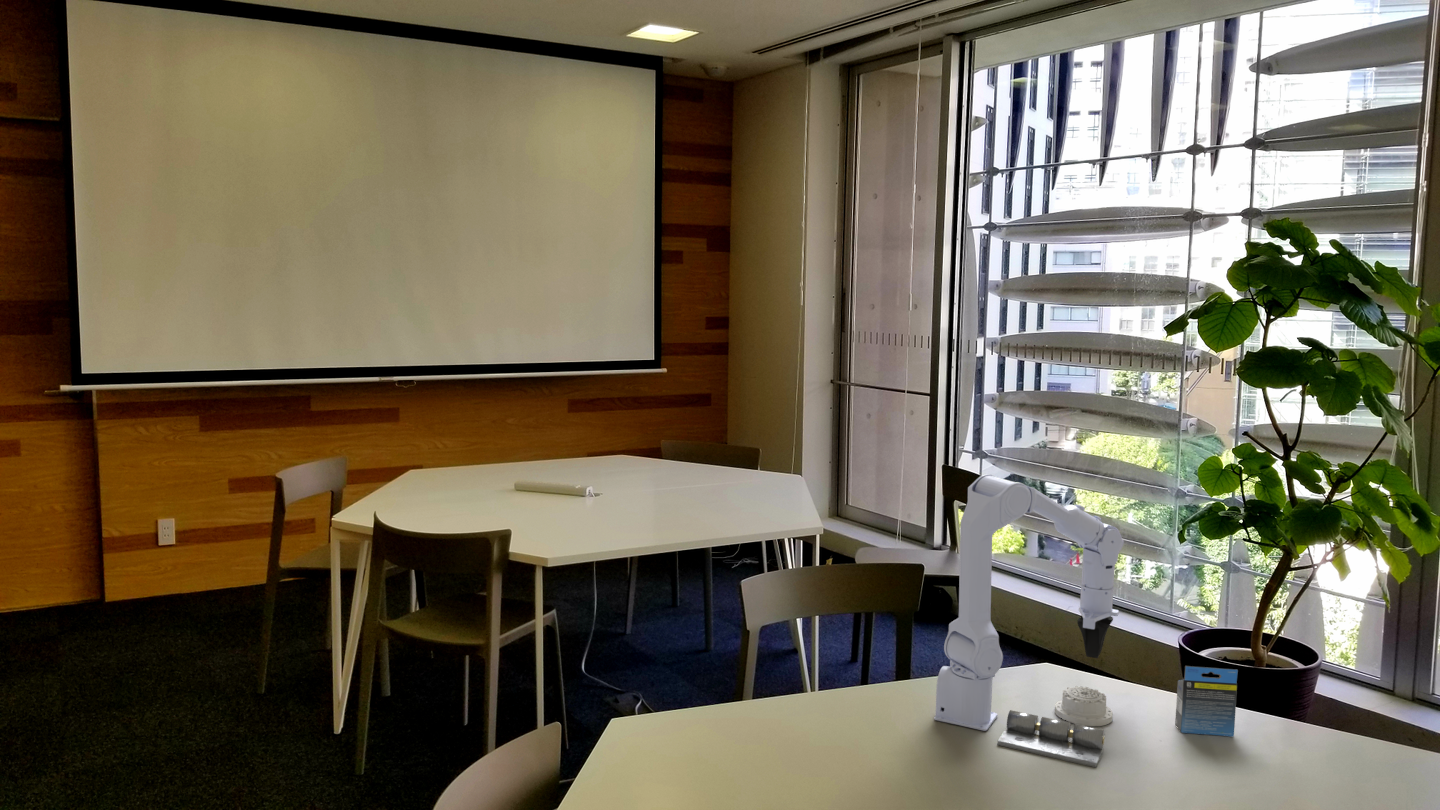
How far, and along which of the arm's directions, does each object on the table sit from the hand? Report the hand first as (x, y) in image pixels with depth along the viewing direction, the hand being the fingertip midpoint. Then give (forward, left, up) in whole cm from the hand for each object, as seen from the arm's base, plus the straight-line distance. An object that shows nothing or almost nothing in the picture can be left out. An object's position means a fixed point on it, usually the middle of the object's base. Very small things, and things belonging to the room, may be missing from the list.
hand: (1093, 655), depth 195 cm
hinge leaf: (-2, -26, -8) cm, 27 cm away
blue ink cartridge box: (+20, -5, -9) cm, 22 cm away
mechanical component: (0, -9, -9) cm, 13 cm away
